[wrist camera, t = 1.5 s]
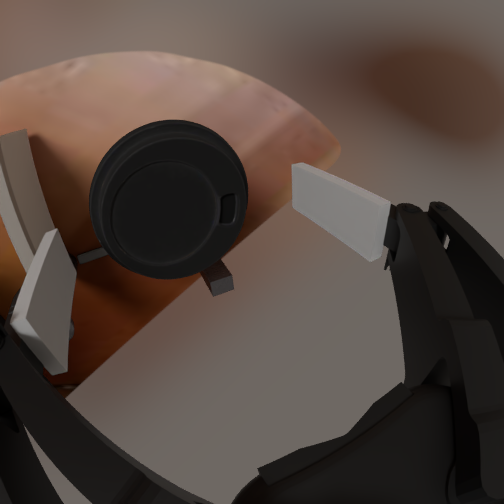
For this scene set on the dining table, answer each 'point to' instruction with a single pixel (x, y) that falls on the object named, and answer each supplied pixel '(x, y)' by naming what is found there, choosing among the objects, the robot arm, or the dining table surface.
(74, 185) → the dining table surface
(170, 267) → the coffee cup
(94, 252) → the bar
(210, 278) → the post
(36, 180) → the gate
